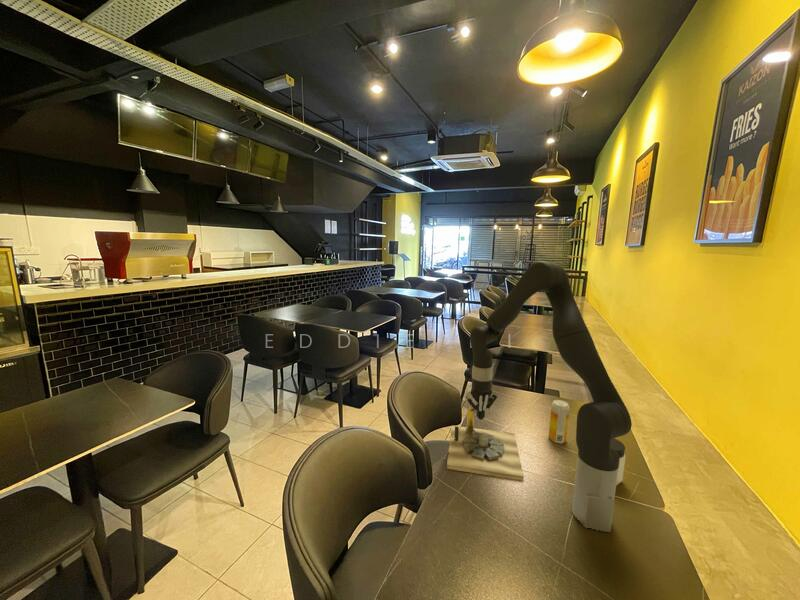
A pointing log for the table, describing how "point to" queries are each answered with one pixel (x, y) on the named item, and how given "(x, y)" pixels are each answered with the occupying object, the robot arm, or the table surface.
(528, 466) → the table surface
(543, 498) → the table surface
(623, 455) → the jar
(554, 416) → the orange white canister
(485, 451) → the flange
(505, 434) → the base
